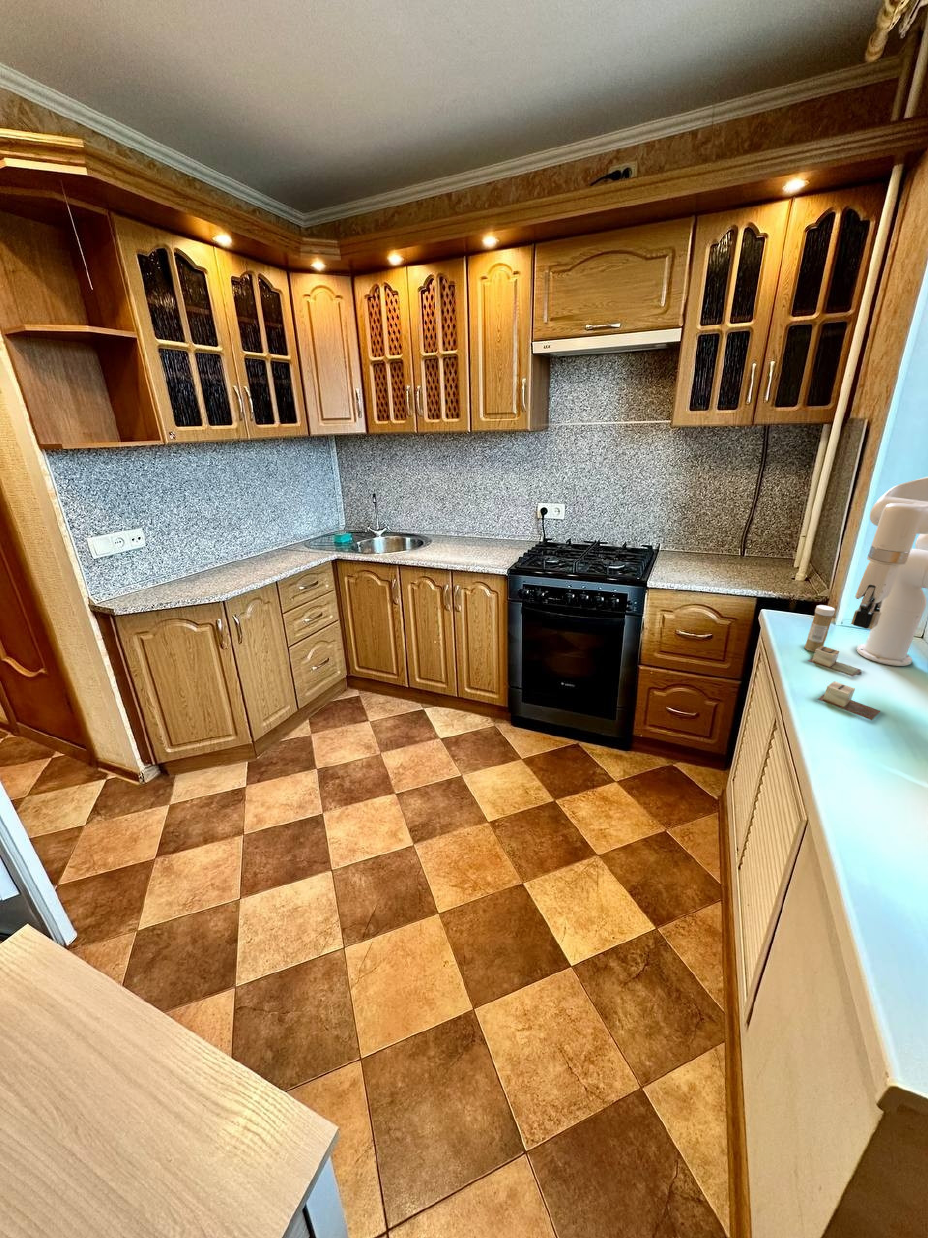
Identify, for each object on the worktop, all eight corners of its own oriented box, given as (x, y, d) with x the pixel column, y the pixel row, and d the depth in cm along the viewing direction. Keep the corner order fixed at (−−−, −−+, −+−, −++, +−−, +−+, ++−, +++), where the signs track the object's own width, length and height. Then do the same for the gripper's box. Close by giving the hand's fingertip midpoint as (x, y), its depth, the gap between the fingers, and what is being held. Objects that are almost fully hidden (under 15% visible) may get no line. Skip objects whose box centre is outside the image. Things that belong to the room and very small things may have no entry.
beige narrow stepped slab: (815, 656, 146) (820, 643, 144) (860, 671, 138) (865, 657, 136) (806, 662, 142) (811, 648, 141) (852, 678, 134) (857, 664, 133)
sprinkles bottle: (824, 650, 150) (838, 608, 145) (817, 654, 148) (831, 611, 142) (808, 645, 153) (821, 603, 148) (800, 648, 151) (813, 606, 146)
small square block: (856, 620, 133) (861, 606, 132) (876, 625, 130) (881, 612, 129) (850, 624, 131) (855, 610, 129) (871, 629, 128) (876, 616, 126)
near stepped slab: (826, 693, 127) (832, 678, 125) (880, 713, 119) (886, 697, 117) (816, 701, 123) (822, 685, 121) (870, 722, 115) (877, 705, 113)
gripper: (880, 547, 131) (858, 612, 138) (857, 557, 121) (835, 627, 128) (917, 553, 125) (892, 621, 132) (896, 565, 116) (870, 637, 123)
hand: (864, 623), depth 130 cm, fingers closed on small square block, 4 cm apart
